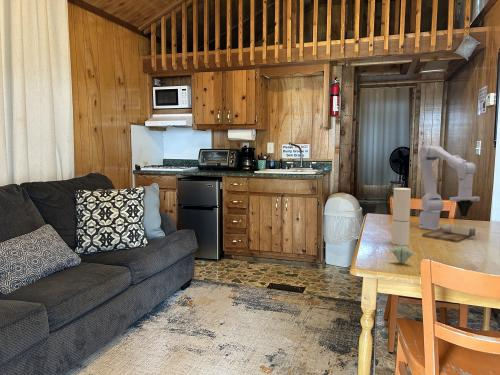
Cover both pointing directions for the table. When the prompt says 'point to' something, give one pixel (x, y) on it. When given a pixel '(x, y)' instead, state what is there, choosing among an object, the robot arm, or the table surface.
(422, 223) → the robot arm
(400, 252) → the green fan shape
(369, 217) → the table surface
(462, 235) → the base
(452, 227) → the coupling lever
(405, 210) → the cream tall block
